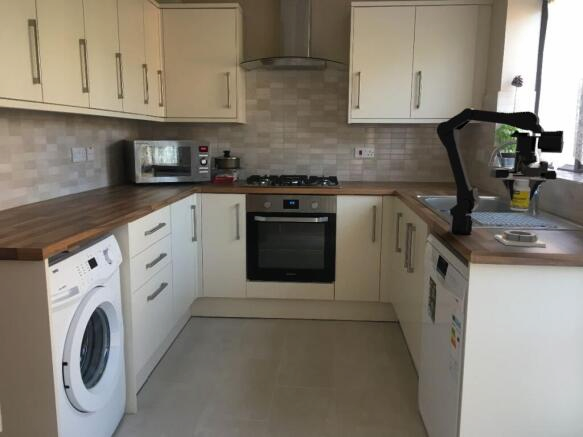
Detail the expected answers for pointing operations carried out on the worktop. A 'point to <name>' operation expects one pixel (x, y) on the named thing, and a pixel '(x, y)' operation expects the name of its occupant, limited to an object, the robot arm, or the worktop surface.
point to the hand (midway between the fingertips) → (520, 200)
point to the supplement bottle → (520, 195)
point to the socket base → (520, 238)
